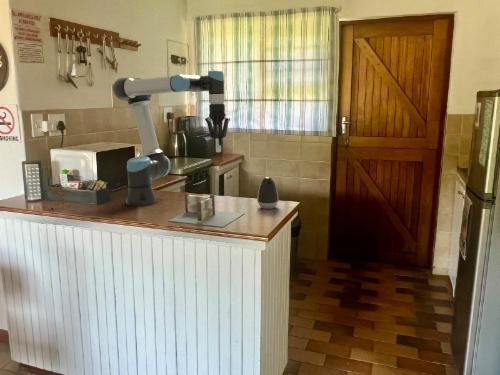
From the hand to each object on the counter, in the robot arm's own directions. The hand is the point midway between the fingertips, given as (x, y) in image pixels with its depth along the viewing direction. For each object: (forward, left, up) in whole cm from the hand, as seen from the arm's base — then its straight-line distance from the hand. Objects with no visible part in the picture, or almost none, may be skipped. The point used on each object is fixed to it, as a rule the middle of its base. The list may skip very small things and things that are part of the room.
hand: (218, 151), depth 213 cm
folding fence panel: (+7, -28, -26) cm, 38 cm away
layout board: (+7, -26, -26) cm, 37 cm away
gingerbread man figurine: (-73, -34, -27) cm, 85 cm away
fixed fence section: (0, -21, -26) cm, 33 cm away
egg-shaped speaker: (+26, 0, -27) cm, 37 cm away
